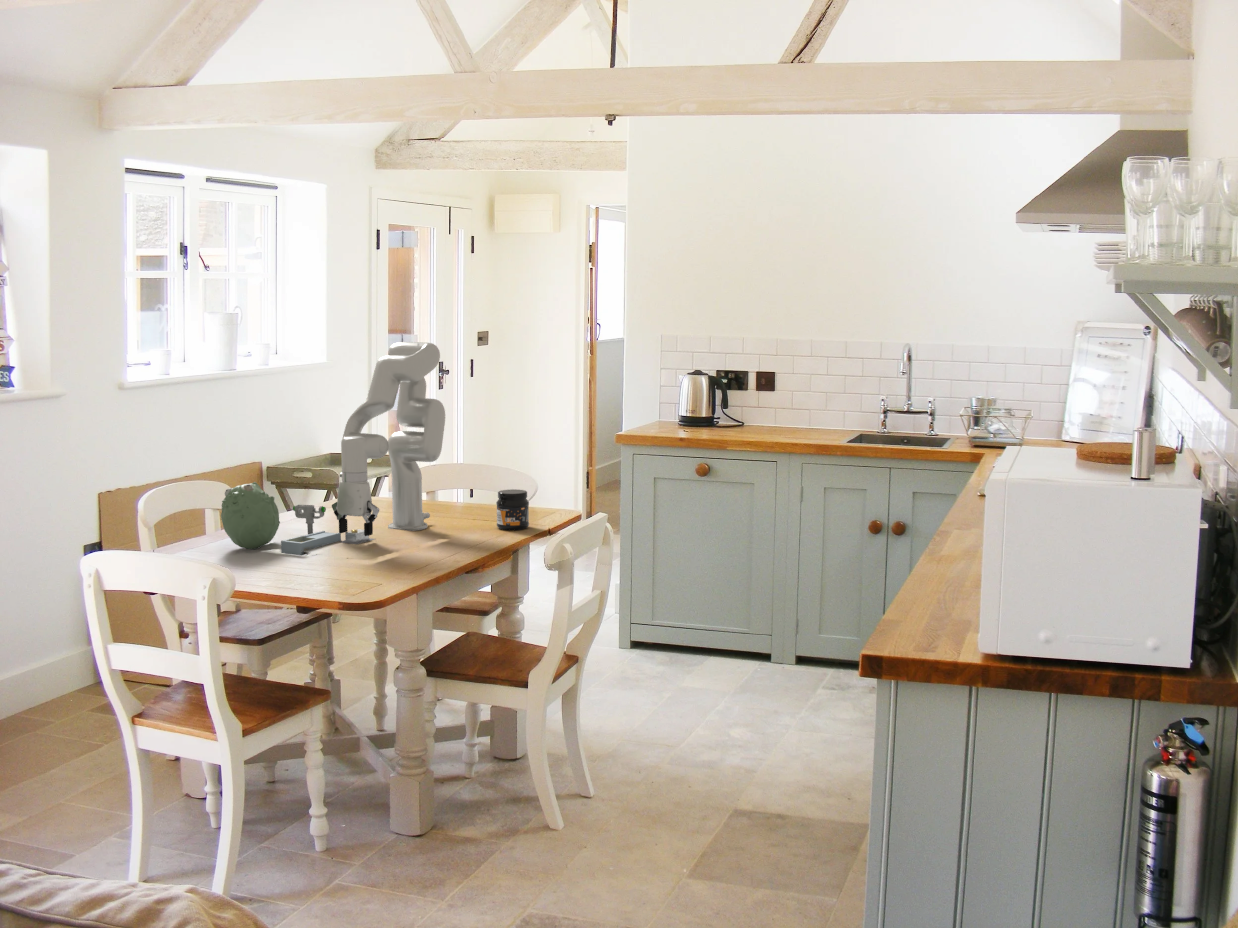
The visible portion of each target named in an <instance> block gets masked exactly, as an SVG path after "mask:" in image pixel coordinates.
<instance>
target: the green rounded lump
mask: <svg viewBox="0 0 1238 928" xmlns="http://www.w3.org/2000/svg"><path fill="white" fill-rule="evenodd" d="M224 496H225V497H224V498H223V500H222V501H221V513H220V519H221V523H222V526H223V529H224V532H225V534H226V535H227V537H229V539H230V540H231V542H232V543H233V544H235V545H236V546H238V547H240V548H243V549H246V550H247V549H248V550H257V549H260V548H261V547H262V546H265V545H267V544H269V543H270V542H271V541H272V540H273V539H274V538H275V536H276V534H277V531H278V529H279V527H280V524H281V521H280V514H279V513H280V512H279V508H278V505H277V504H276V502H275V497H274V496H273V495H271V496H270V495H269V493H267V492H265V491H264V490H263V489H262V488H261V486H260V485H259V484H258V482H256V481H253V482H252V483H251V482H250V483H244V484H241V485H240V484H239V485H236V486H235V487H229V488H227V489H225V491H224Z"/></svg>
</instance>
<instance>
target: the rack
mask: <svg viewBox="0 0 1238 928" xmlns="http://www.w3.org/2000/svg"><path fill="white" fill-rule="evenodd" d="M341 537H342V533H339V532H336V533H335V532H329V531H325V530H322V531H317V532H313V534H305V535H300V536H295V537H292V538H287V539H283V540H281V541H280V548H281V550H280V551H281V552H280V553H281V554H285V555H294V556H304V555H308V554H310V552H306V551H308V550H313V549H316V548H319V547H322V546H326V545H329V544H333V543H337V542H341V541H342V540H341Z"/></svg>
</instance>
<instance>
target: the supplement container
mask: <svg viewBox="0 0 1238 928" xmlns="http://www.w3.org/2000/svg"><path fill="white" fill-rule="evenodd" d="M497 498H498V499H497V501H496V504H495V505H496V527H497V528H498V529H500V530H502V529H503V530H502V531H510V530H514V531H521V530H526V529H528V527H530V521H529V517H530V516H529V510H530V509H529V508H530V507H529V505H530V502H529V500H528V491H527V490H524V489H513V488H512V489H502V490H499V491H497Z"/></svg>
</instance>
